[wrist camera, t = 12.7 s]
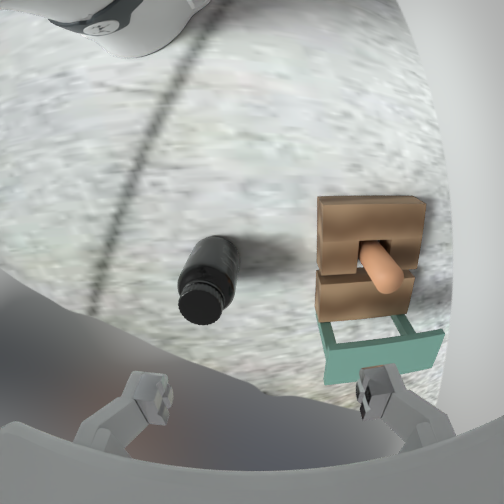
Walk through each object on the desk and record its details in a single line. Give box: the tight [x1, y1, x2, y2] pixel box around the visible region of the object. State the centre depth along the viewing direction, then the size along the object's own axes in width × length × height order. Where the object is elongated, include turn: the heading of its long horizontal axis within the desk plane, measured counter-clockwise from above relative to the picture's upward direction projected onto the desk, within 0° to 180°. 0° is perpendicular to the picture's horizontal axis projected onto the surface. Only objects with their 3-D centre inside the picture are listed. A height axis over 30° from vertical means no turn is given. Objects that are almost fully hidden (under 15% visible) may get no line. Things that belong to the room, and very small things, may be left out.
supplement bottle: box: [178, 237, 240, 325], centre depth 36 cm, size 7×7×12 cm
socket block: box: [315, 196, 426, 323], centre depth 39 cm, size 17×14×4 cm
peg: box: [358, 240, 404, 294], centre depth 35 cm, size 4×4×10 cm
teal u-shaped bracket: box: [316, 314, 445, 385], centre depth 37 cm, size 6×15×14 cm, turn 94°
